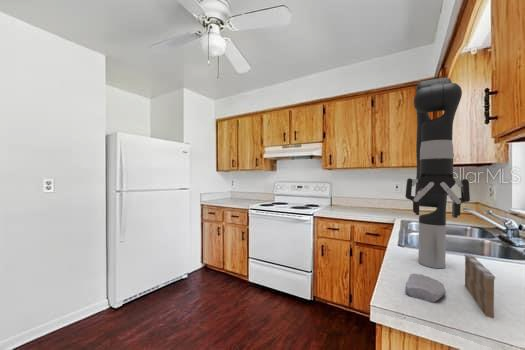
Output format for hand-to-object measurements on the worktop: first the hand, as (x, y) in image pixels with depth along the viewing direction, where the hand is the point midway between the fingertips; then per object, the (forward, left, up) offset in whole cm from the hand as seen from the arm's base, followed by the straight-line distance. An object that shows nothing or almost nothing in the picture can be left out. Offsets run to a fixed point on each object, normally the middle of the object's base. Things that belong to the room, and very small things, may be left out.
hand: (435, 216), depth 66 cm
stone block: (-9, -1, -26) cm, 28 cm away
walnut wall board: (-12, +12, -26) cm, 31 cm away
